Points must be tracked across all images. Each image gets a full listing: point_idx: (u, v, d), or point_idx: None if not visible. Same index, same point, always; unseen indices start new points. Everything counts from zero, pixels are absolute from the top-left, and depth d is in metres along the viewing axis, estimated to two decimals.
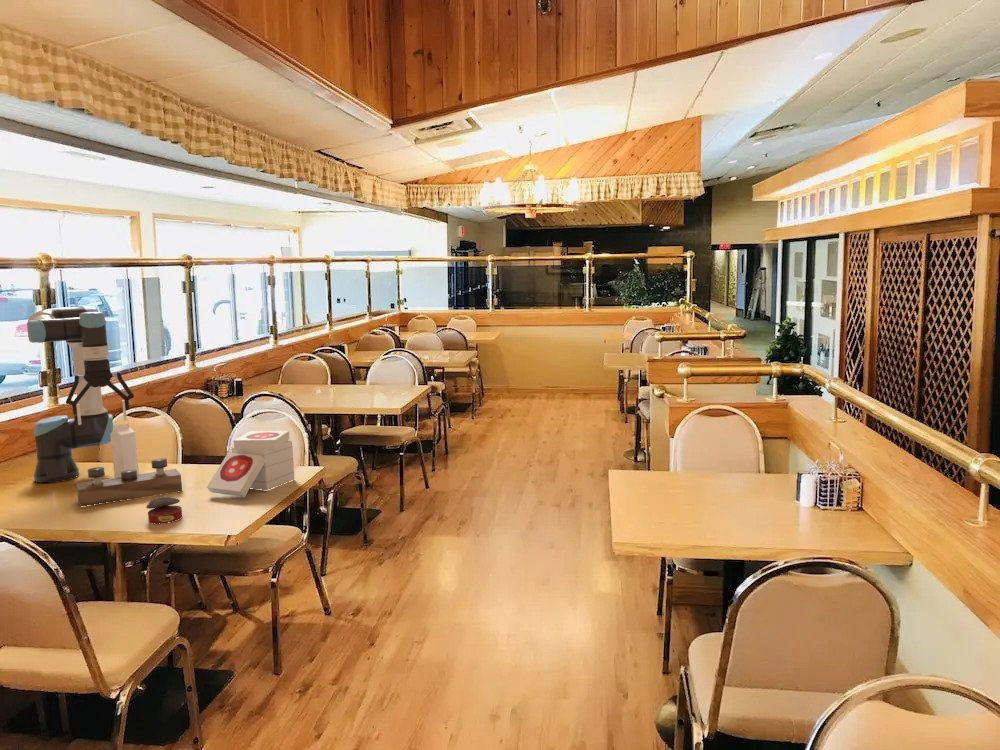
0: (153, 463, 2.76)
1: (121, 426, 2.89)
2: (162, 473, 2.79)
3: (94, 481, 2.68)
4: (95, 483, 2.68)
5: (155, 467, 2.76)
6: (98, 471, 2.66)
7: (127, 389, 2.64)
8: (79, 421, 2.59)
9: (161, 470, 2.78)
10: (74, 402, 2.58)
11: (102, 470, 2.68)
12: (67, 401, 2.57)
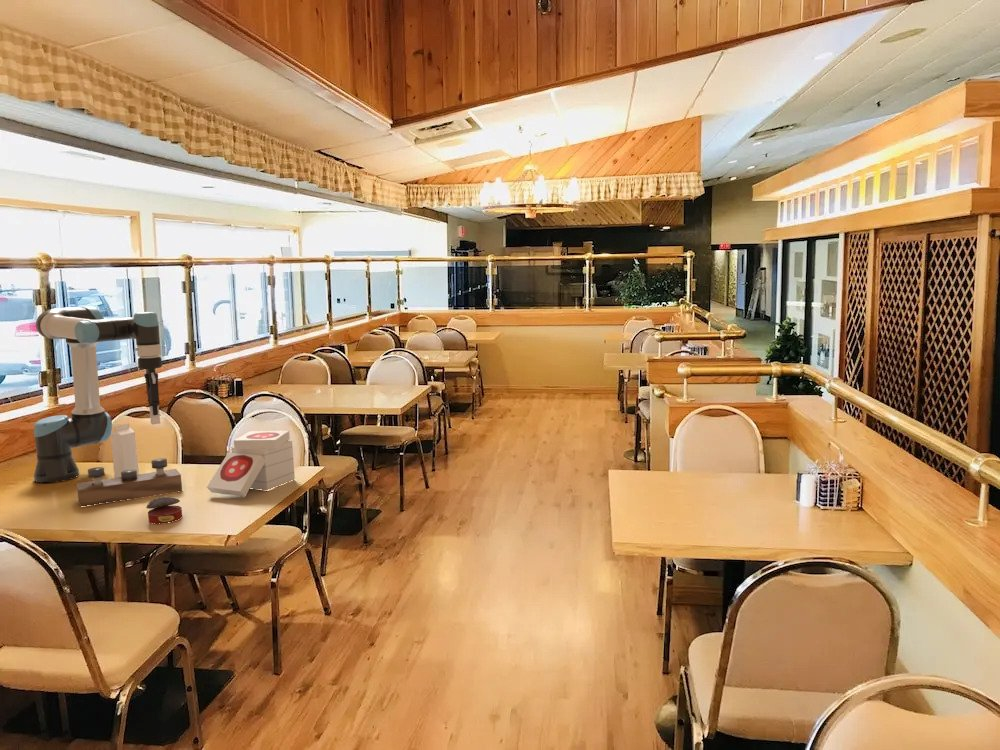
0: (153, 463, 2.76)
1: (121, 426, 2.89)
2: (162, 473, 2.79)
3: (94, 481, 2.68)
4: (95, 483, 2.68)
5: (155, 467, 2.76)
6: (98, 471, 2.66)
7: (150, 395, 2.71)
8: None
9: (161, 470, 2.78)
10: (149, 401, 2.77)
11: (102, 470, 2.68)
12: (148, 399, 2.78)
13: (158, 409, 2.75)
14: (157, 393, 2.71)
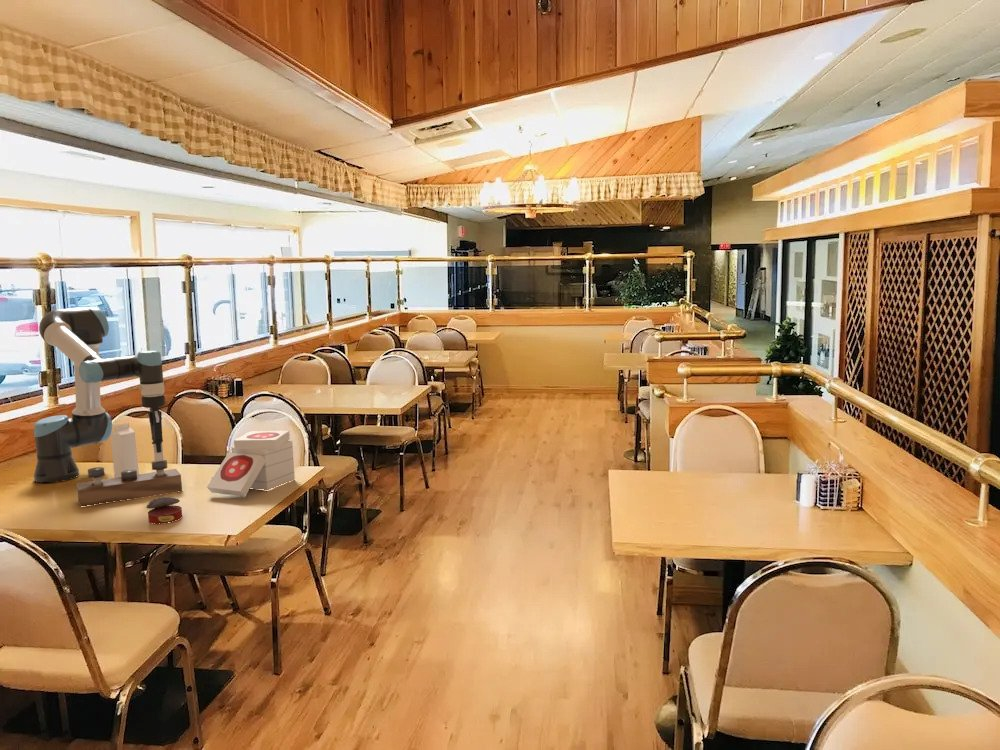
0: (153, 464, 2.76)
1: (121, 426, 2.89)
2: (162, 474, 2.79)
3: (94, 481, 2.68)
4: (95, 483, 2.68)
5: (155, 468, 2.76)
6: (98, 471, 2.66)
7: (154, 434, 2.73)
8: None
9: (161, 472, 2.78)
10: (152, 439, 2.78)
11: (102, 470, 2.68)
12: None
13: (161, 446, 2.78)
14: (160, 431, 2.73)
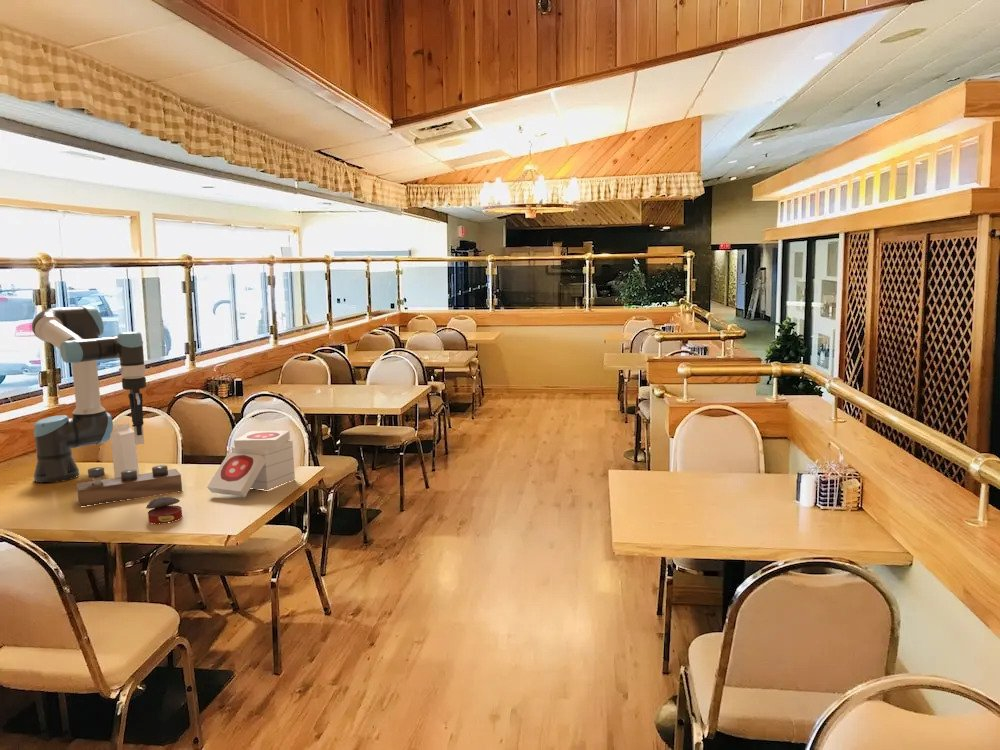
0: (154, 470, 2.77)
1: (121, 426, 2.89)
2: None
3: (94, 481, 2.68)
4: (95, 483, 2.68)
5: (156, 474, 2.77)
6: (98, 471, 2.66)
7: (135, 416, 2.69)
8: (135, 440, 2.74)
9: None
10: (133, 422, 2.74)
11: (102, 470, 2.68)
12: (132, 420, 2.76)
13: (142, 429, 2.74)
14: (141, 414, 2.70)
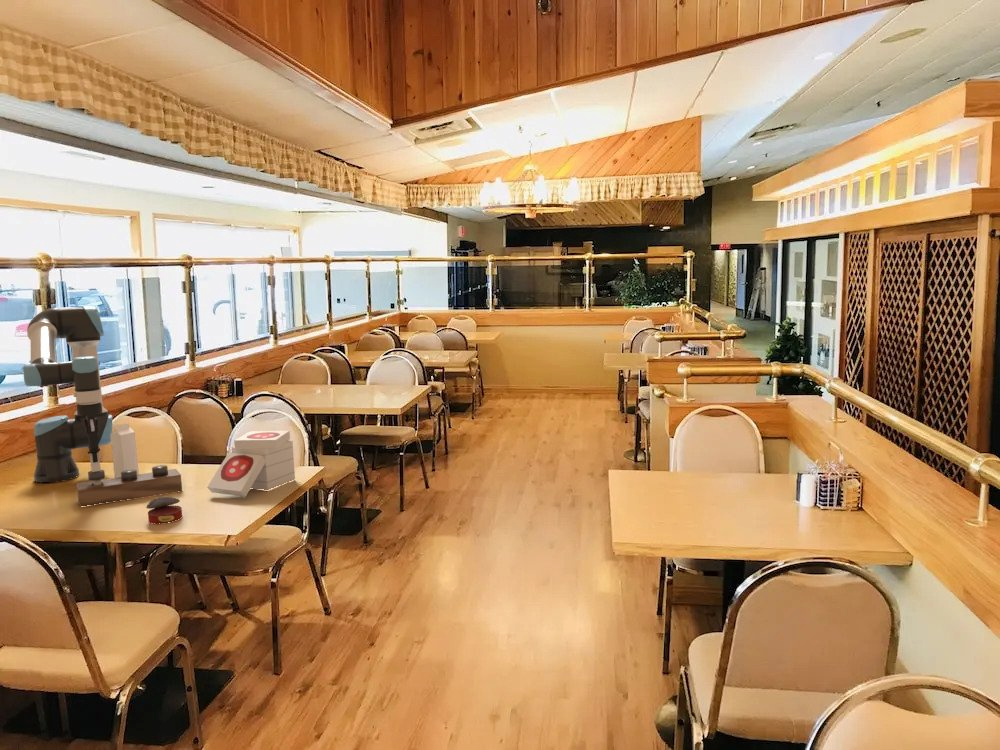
0: (154, 470, 2.77)
1: (121, 426, 2.89)
2: None
3: (94, 483, 2.68)
4: None
5: (156, 474, 2.77)
6: (98, 473, 2.67)
7: (89, 443, 2.63)
8: (91, 468, 2.68)
9: None
10: (89, 449, 2.68)
11: (102, 472, 2.68)
12: (88, 446, 2.69)
13: (98, 456, 2.67)
14: (96, 440, 2.63)
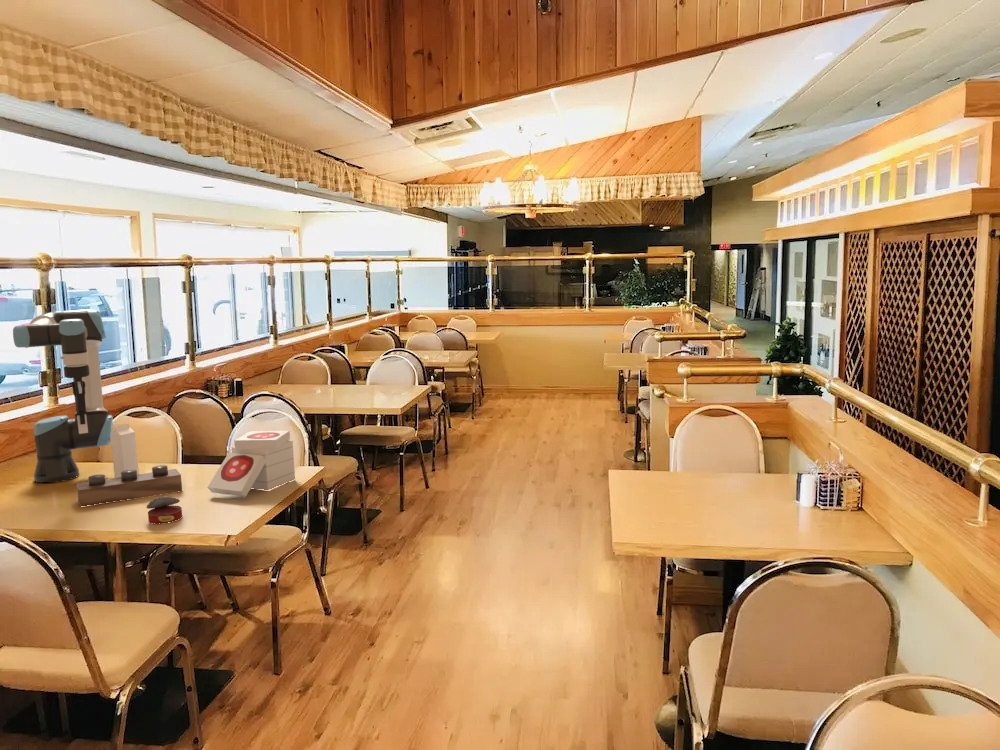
0: (154, 470, 2.77)
1: (121, 426, 2.89)
2: None
3: None
4: None
5: (156, 474, 2.77)
6: (99, 478, 2.67)
7: (77, 405, 2.65)
8: (78, 429, 2.70)
9: None
10: None
11: (103, 477, 2.68)
12: (76, 408, 2.72)
13: (86, 418, 2.70)
14: (84, 403, 2.66)
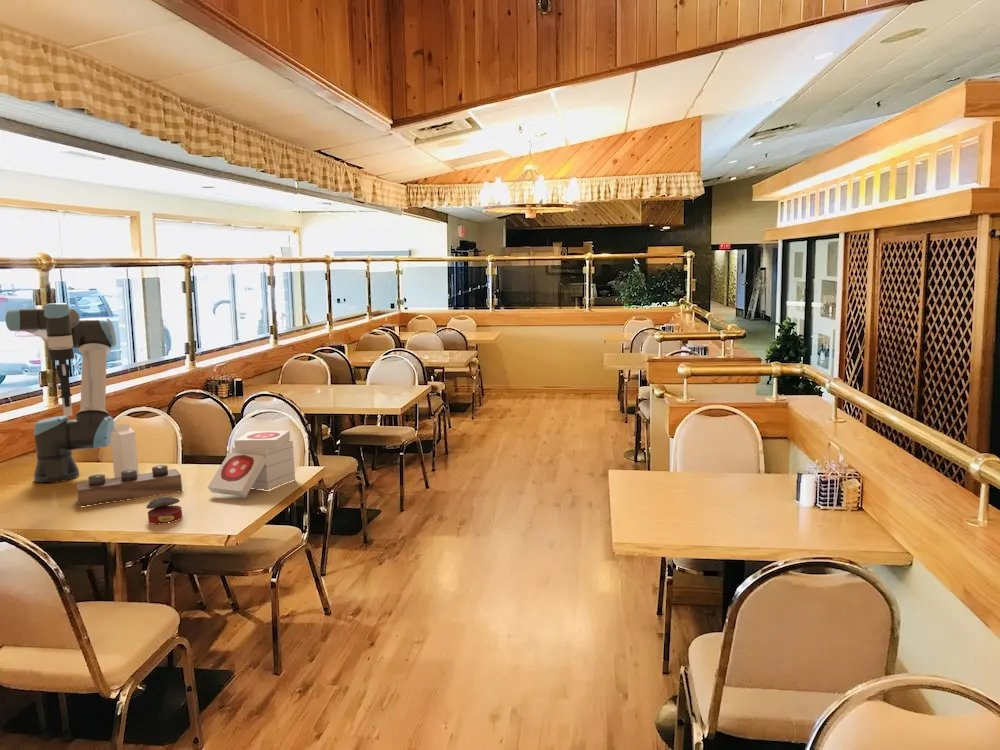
0: (154, 470, 2.77)
1: (121, 426, 2.89)
2: None
3: None
4: None
5: (156, 474, 2.77)
6: (99, 478, 2.67)
7: (61, 387, 2.69)
8: (63, 412, 2.74)
9: None
10: (61, 394, 2.74)
11: (103, 477, 2.68)
12: (61, 392, 2.76)
13: (70, 401, 2.74)
14: (68, 385, 2.70)
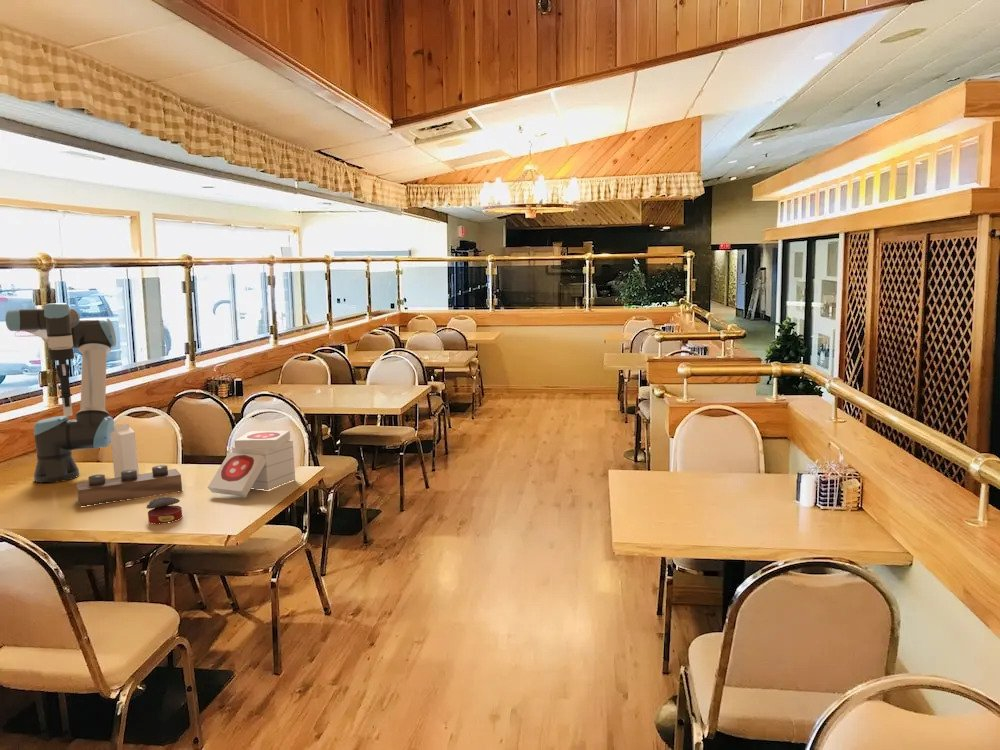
0: (154, 470, 2.77)
1: (121, 426, 2.89)
2: None
3: None
4: None
5: (156, 474, 2.77)
6: (99, 478, 2.67)
7: (61, 387, 2.69)
8: (63, 412, 2.74)
9: None
10: (61, 394, 2.74)
11: (103, 477, 2.68)
12: (61, 392, 2.76)
13: (70, 401, 2.74)
14: (68, 385, 2.70)
